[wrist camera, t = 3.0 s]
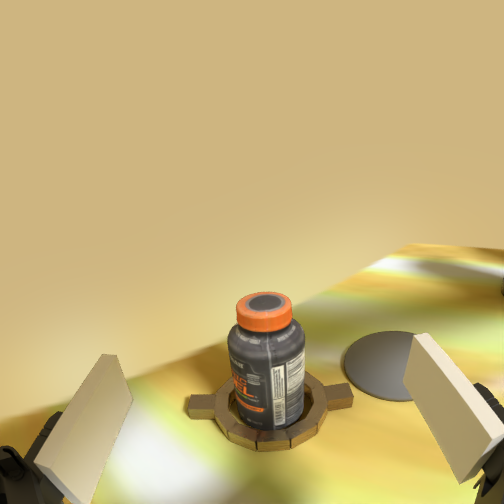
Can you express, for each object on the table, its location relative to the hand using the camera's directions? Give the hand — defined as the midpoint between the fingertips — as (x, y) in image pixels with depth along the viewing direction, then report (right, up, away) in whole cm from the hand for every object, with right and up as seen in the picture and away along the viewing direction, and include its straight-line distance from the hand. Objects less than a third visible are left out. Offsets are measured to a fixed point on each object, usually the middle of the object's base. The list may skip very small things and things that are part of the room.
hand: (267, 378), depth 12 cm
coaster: (+15, -7, +16) cm, 23 cm away
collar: (+1, -9, +13) cm, 16 cm away
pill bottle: (+1, -9, +13) cm, 16 cm away
